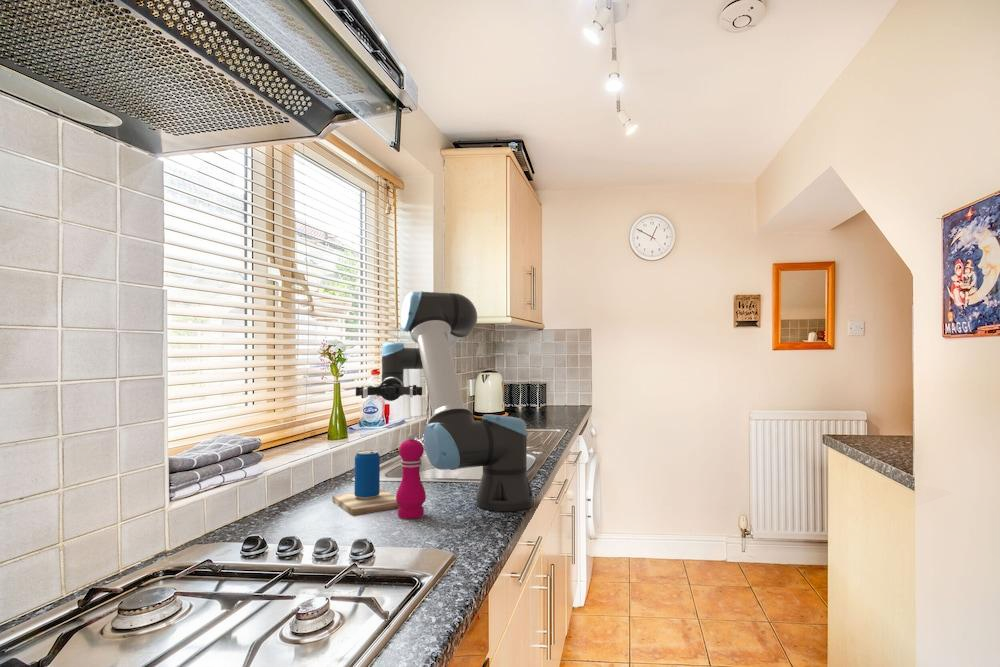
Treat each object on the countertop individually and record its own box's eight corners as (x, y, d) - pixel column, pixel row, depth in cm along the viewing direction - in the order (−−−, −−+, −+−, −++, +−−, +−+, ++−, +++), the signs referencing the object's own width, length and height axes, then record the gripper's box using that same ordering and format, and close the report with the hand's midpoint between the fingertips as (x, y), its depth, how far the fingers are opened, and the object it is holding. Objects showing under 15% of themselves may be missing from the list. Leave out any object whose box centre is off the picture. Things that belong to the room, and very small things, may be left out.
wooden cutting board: (405, 506, 144) (405, 500, 144) (352, 515, 137) (352, 509, 137) (381, 493, 158) (382, 488, 158) (332, 501, 150) (332, 495, 150)
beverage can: (384, 496, 148) (384, 451, 149) (363, 501, 144) (363, 454, 144) (370, 492, 153) (370, 448, 153) (349, 497, 148) (350, 451, 148)
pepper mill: (419, 520, 132) (420, 435, 133) (391, 518, 134) (391, 435, 135) (429, 512, 139) (430, 431, 140) (402, 510, 141) (402, 431, 142)
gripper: (428, 399, 188) (430, 405, 167) (352, 400, 184) (344, 406, 163) (428, 377, 188) (430, 380, 167) (352, 377, 184) (344, 380, 163)
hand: (387, 393), depth 165 cm, fingers open, 13 cm apart
